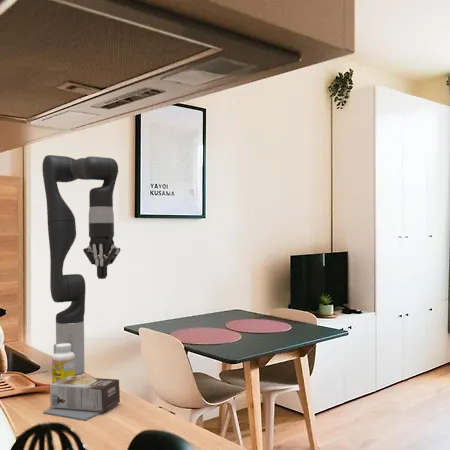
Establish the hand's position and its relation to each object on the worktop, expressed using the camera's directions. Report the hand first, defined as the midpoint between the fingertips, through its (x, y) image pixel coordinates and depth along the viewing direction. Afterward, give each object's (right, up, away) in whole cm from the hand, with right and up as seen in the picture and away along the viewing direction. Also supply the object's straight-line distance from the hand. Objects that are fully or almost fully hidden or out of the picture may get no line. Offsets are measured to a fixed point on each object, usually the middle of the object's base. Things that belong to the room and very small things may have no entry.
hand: (102, 278), depth 161 cm
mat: (0, -33, -21) cm, 39 cm away
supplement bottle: (-12, -34, +1) cm, 36 cm away
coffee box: (-8, -29, -17) cm, 35 cm away
